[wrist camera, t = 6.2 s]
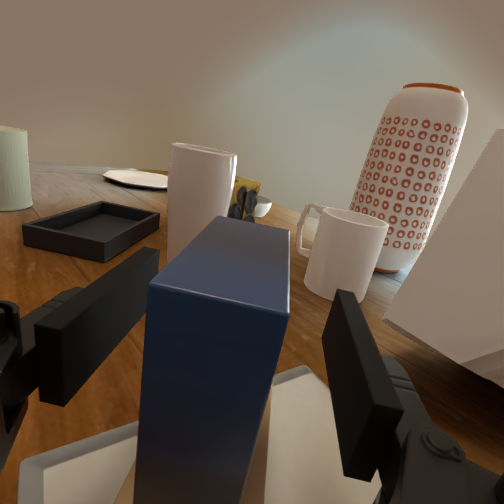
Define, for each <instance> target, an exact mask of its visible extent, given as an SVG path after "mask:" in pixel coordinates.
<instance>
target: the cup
mask: <svg viewBox="0 0 504 504" xmlns="http://www.w3.org/2000/svg"><path fill="white" fill-rule="evenodd" d="M311 207H312V208H313V209H315V210H316V211H317V212H319V213H320V214H321V217H320V221H319V225H318V229H317V232H316V236H315V240H314V244H313V247H312V250H311V249H306V248H301V247H302V235H303V225H304V223H305V221H306V219H307V216H308V214H309V212H310V209H311ZM388 228H389V224H388V223H386V222H384V221H382V220H380V219H378V218H375V217H372V216H369V215H366V214H362V213H358V212H354V211H350V210H345V209H338V208H327V207H324V206H321V205H318V204H314V203H309V204H306V205H305V207H304V210H303V212H302V214H301V217H300V219H299V222H298V224H297V234H296V245H295V246H296V249H297V251H298V253H299V254H301V255H303V256H305V257H307V258H309V262H308V266H307V270H306V273H305V277H304V284H305V286H306V287H307V288H308V289H309V290H310V291H312V292H313V293H315V294H316V295H318V296H320V297H322V298H325V299H328V300H331V301H333V300H334V297H335V293H336V290H337V289H342V290H346V291H351V292H354V294H355V296H356V299H357V301H358V303H360V302H362V301H363V299H364V297H365V294H366V291H367V288H368V285H369V282H370V279H371V277H372V274H373V271H374V268H375V265H376V262H377V260H378V257H379V254H380V251H381V248H382V245H383V243H384V240H385V237H386V234H387V231H388Z"/></svg>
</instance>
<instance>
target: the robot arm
mask: <svg viewBox="0 0 504 504" xmlns="http://www.w3.org/2000/svg"><path fill="white" fill-rule="evenodd" d="M159 254H160V250H157V249H153V248H148V247H143V248H141V249H140V250H139V251H137V252H136V253H134V254H133V255H131V256H130V257H129V258H127V259H126V260H124V261H123V262H121V263H120V264H119V265H117V266H116V267H114V268H113V269H111V270H110V271H109V272H107V273H106V274H104V275H103V276H101V277H100V278H99V279H97V280H96V281H94V282H93V283H91V284H90V285H89V286H87V287H86V288H80V287H75V288H72V289H69V290H66V291H63V292H61V293H60V294H58V295H57V296H55V297H54V298H52V299H51V301H50V300H49V301H47V302H46V303H44V304H43V305H42V307H41V306H40V307H38V308H37V309H35V310H33V311H32V312H30V313H29V314H27V315H26V316H24V317H23V318H21V319H20V313H19V307H18V306H17V305H16V304H15V303H13V302H10V301H3V300H0V475H1V473H2V470H3V468H4V465H5V463H6V460H7V458H8V455H9V453H10V450H11V448H12V446H13V443H14V441H15V438H16V436H17V433H18V431H19V428H20V426H21V424H22V421H23V419H24V416H25V414H26V411H27V408H28V396H29V395H30V394H31V393H32V392H33V391H34V390H35V389H36V388H37V387H38V386H39V398H40V401H41V402H45V403H49V404H53V405H58V406H62V407H64V406H65V405H66V404H67V403H68V402H69V401H70V399H71V398H72V397H73V396H74V395H75V394H76V393H77V391H78V390H79V389H80V388H81V387H82V386H83V384H84V383H85V382H86V381H87V380H88V379H89V377H90V376H91V375H92V374H93V373H94V372H95V370H96V369H97V368H98V367H99V366H100V365H101V364H102V362H103V361H104V360H105V359H106V358H107V357H108V355H109V354H110V353H111V352H112V351H113V350H114V348H115V347H116V346H117V345H118V344H119V343H120V341H121V340H122V339H123V338H124V337H125V336H126V335H127V333H128V332H129V331H130V330H131V329H132V328H133V326H134V325H135V324H136V323H137V322H138V321H139V319H140V318H141V317H142V316H143V315H144V314H145V312H146V309H147V294H148V284H149V282H150V281H151V280H152V279H153V278H154V277H155V276H156V275H157V274H158V266H159ZM322 345H323V351H324V357H325V363H326V369H327V376H328V382H329V388H330V394H331V400H332V407H333V413H334V419H335V425H336V431H337V438H338V444H339V450H340V456H341V462H342V469H343V475H344V476H345V477H349V478H353V479H357V480H361V481H365V482H369V483H371V481H372V478H373V476H374V474H375V472H376V470H377V469H378V473H379V477H380V480H381V484H382V486H381V488H380V490H379V492H378V494H377V496H376V498H375V500H374V502H373V504H504V473H503V474H502V475H501V476H500V475H498V474H496V473H493V472H491V471H489V470H487V469H485V468H483V467H481V466H479V465H477V464H475V463H473V462H471V461H470V460H468V459H466V456H465V453H464V451H463V450H462V449H461V447H460V446H459V444H458V443H457V442H456V441H455V440H454V439H453V438H452V437H451V436H450V435H448V434H447V433H446V432H444V431H442V430H441V429H439V428H438V427H436V426H434V424H433V422H432V420H431V418H430V416H429V414H428V412H427V410H426V408H425V406H424V405H423V403H422V401H421V399H420V397H419V395H418V393H417V392H416V389H415V387H414V385H413V383H412V382H411V379H410V377H409V375H408V373H407V371H406V369H405V368H404V367H403V366H402V365H401V364H400V363H399V362H398V361H397V360H396V359H395V358H394V357H390V356H385V355H381V354H380V352H379V350H378V348H377V345H376V343H375V341H374V338H373V336H372V334H371V331H370V329H369V327H368V324H367V322H366V320H365V317H364V315H363V313H362V310H361V308H360V306H359V303H358V301H357V299H356V296H355V294H354V292H351V291H346V290H342V289H337V290H336V293H335V297H334V300H333V303H332V306H331V309H330V312H329V316H328V319H327V322H326V325H325V328H324V332H323V335H322Z"/></svg>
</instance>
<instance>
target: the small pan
mask: <svg viewBox="0 0 504 504" xmlns="http://www.w3.org/2000/svg"><path fill="white" fill-rule="evenodd" d="M271 203H272V201H271V200H269V199H267V198H264V197H261V196H258V197H257V205H256V209H255V217H263V216H264V215H265V214H266V213H267V212H268V211H269V209H270V207H271Z"/></svg>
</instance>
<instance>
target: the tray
mask: <svg viewBox="0 0 504 504" xmlns="http://www.w3.org/2000/svg"><path fill="white" fill-rule="evenodd" d="M159 220H160V213H157V212H152V211H147V210H143V209H138V208H133V207H128V206H124V205H119V204H114V203H109V202H105V201H99V202H96V203H93V204H89V205H86V206H83V207H79V208H76V209H73V210H69V211H66V212H63V213H59V214H56V215H53V216H49V217H46V218H42V219H39V220H36V221H32V222H29V223H26V224H22V232H23V244H24V245H26V246H31V247H35V248H40V249H45V250H49V251H54V252H58V253H63V254H67V255H72V256H76V257H81V258H85V259H90V260H94V261H99V262H103V263H104V262H106V261H108V260H109V259H111V258H112V257H114V256H115V255H117V254H119V253H120V252H122V251H123V250H125V249H126V248H128V247H130V246H131V245H133V244H134V243H136V242H137V241H139V240H141V239H142V238H144V237H145V236H147V235H148V234H150V233H152V232H153V231H155V230H156V229H158V228H159Z"/></svg>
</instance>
